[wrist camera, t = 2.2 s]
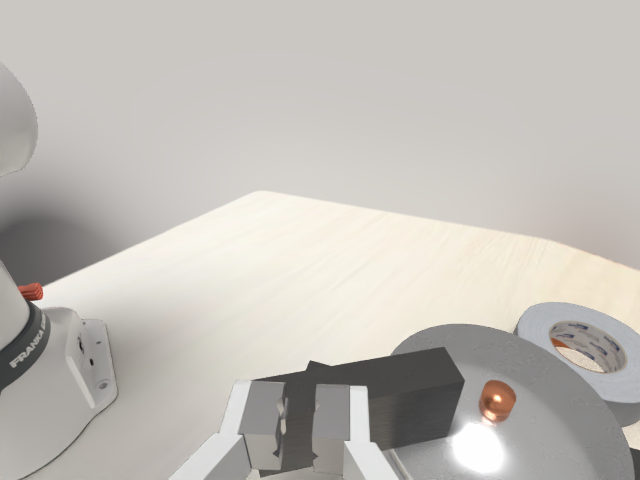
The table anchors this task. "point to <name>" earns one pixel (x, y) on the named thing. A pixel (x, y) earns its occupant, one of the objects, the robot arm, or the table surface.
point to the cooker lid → (469, 411)
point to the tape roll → (591, 351)
